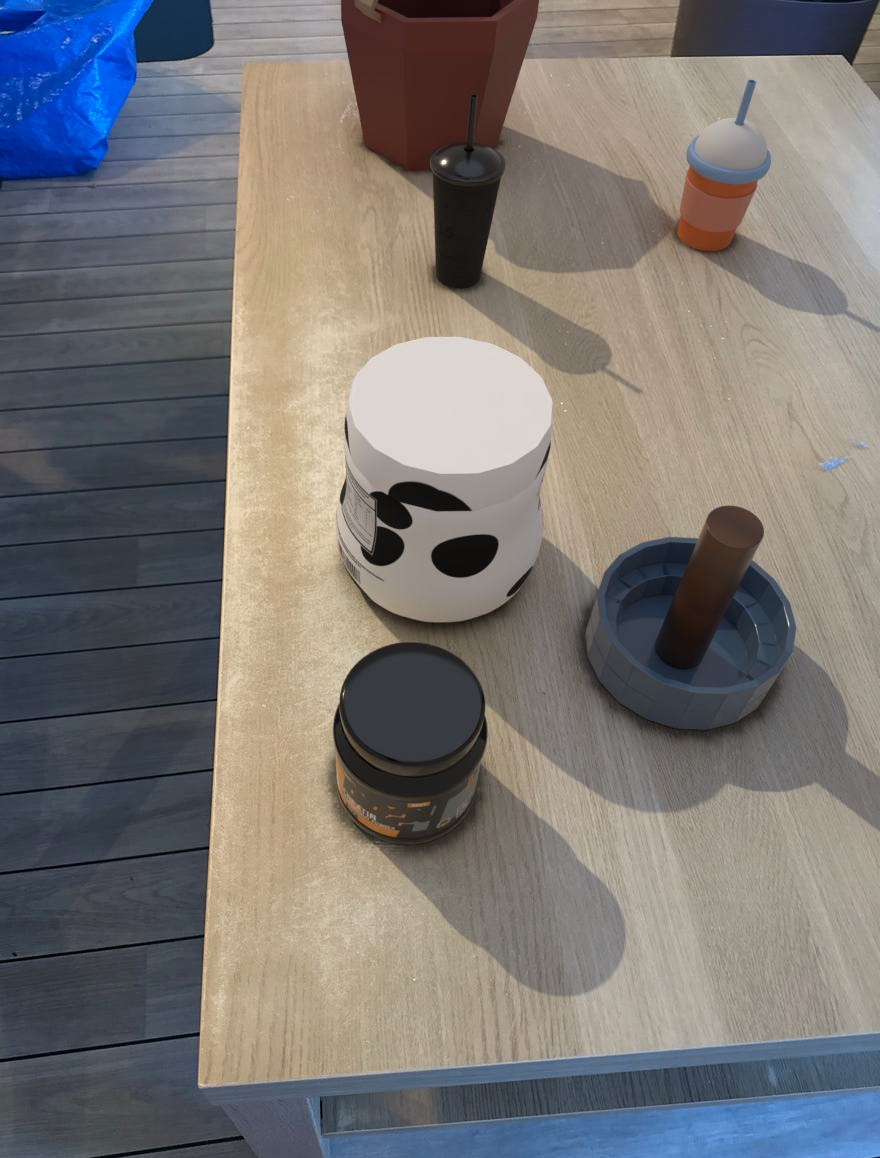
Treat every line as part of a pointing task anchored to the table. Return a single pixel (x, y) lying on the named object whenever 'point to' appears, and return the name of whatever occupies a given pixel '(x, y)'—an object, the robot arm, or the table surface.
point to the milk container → (443, 478)
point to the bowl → (731, 663)
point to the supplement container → (409, 742)
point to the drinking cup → (464, 205)
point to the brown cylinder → (708, 585)
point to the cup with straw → (722, 179)
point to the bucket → (433, 70)
